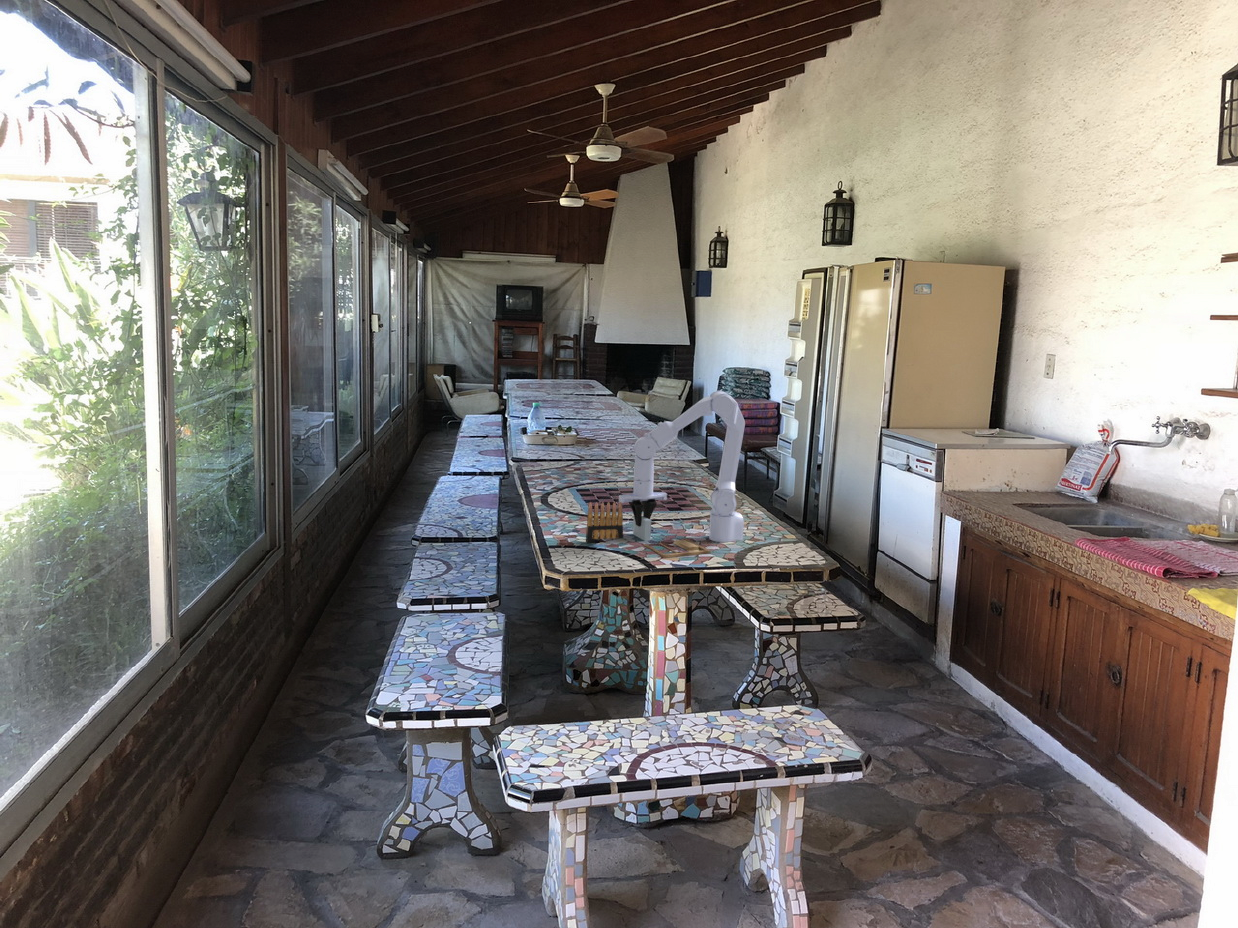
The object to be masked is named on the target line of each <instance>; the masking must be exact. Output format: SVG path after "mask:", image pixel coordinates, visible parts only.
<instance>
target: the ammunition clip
mask: <svg viewBox="0 0 1238 928" xmlns="http://www.w3.org/2000/svg"><path fill="white" fill-rule="evenodd" d="M588 503H589V504H588V506H587V507H588V510H587V511H588V512H587V515H586V516H587V518H586V520H587V521H586V534H585V535H586V536H585V543H586V544H590V545H591V544H601V542H600V541H599V540H598V539H602V540H603V539H624V527H623V523H624V521H623V520H624V519H623V503H620V502H619V501H618V507H617V504H616V501H613V503H612V508H611V504H610V501H607V504H606V507H605V504H604V501H602V502H601V503H600V511H599V504H598V502H597V501H596V502H595V503H594V511H593V505H592V502H591V501H590V502H588ZM605 508H606V509H605Z"/></svg>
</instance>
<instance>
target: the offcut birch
mask: <svg viewBox="0 0 1238 928" xmlns="http://www.w3.org/2000/svg"><path fill="white" fill-rule="evenodd" d="M680 548H681V549H684V550H685V551H686V552H692V551H701V550H691V551H689V550H687V549H685V548H683V547H680Z"/></svg>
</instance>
